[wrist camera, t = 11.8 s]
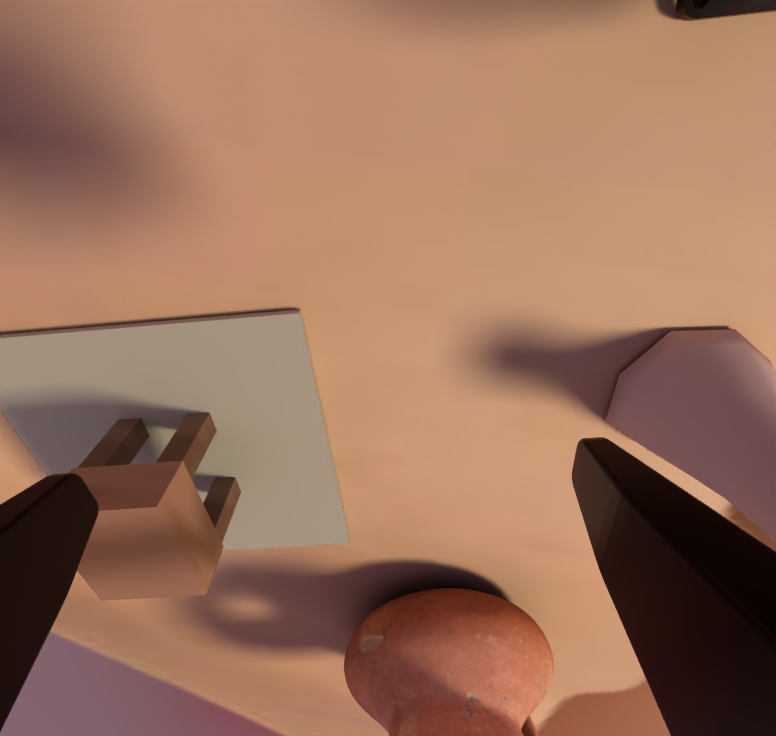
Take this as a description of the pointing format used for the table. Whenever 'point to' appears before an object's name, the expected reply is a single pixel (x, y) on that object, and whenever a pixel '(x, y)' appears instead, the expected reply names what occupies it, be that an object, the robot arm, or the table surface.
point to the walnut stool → (154, 514)
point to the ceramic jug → (449, 665)
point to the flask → (707, 415)
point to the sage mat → (189, 411)
